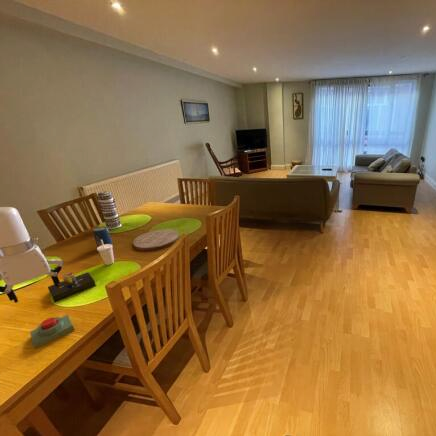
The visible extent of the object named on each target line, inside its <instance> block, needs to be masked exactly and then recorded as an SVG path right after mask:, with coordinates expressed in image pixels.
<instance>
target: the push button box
mask: <svg viewBox="0 0 436 436" xmlns="http://www.w3.org/2000/svg"><path fill="white" fill-rule="evenodd" d="M54 318H55V319H56V321H57V324H56V325H55V326H53V327H51V328H49V329H43V328H42V326H41V323H40V324H39V325H38V326H37V327H36V328H35V329H32V330H30V331H29V335H30V338H31V342H32V345H33V347H34V349H35V350H37V349H39V348H42V347H43V346H45V345H47V344H49V343H51V342H54V341H55V340H57V339H59V338H61V337H63V336H66V335H67V334H70V333H72V332H73V331H75V330H76V329H75V327H74V325H73V323H72V320H71V318H70V316H69V314H65V315H64V316H61V317H59V316H57V317H54Z"/></svg>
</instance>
